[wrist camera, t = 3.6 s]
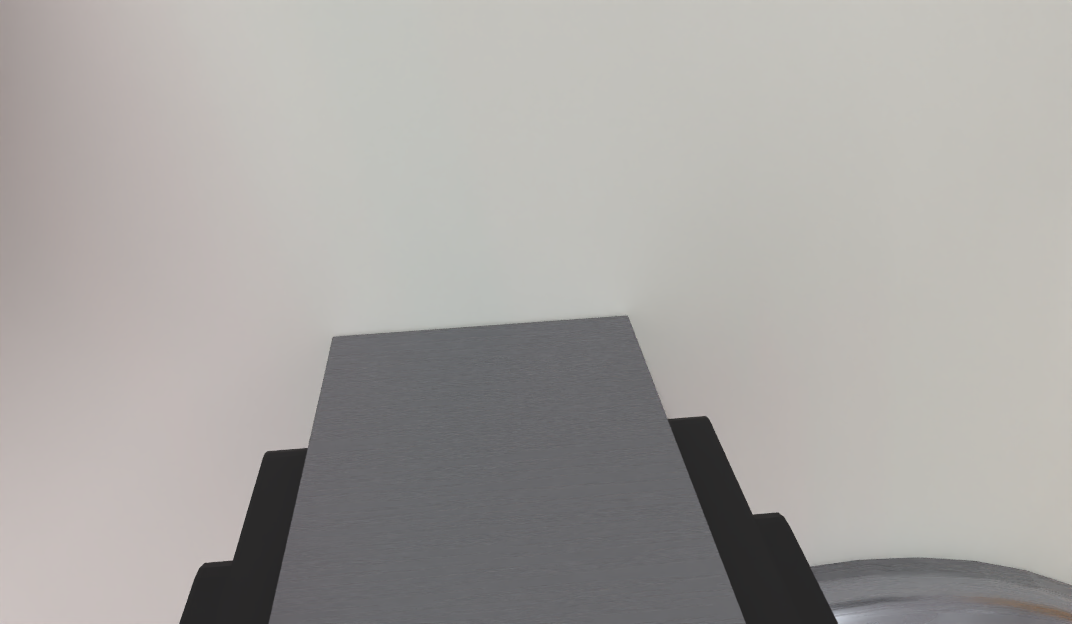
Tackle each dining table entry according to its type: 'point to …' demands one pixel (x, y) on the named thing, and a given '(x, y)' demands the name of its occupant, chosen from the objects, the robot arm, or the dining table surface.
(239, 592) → the robot arm
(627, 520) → the grey long block
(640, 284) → the dining table surface
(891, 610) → the metal disc with post
